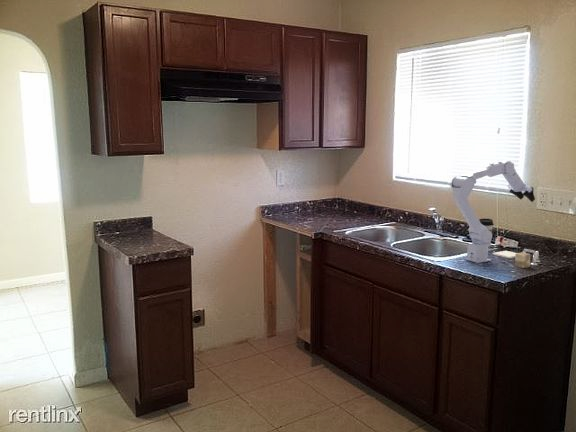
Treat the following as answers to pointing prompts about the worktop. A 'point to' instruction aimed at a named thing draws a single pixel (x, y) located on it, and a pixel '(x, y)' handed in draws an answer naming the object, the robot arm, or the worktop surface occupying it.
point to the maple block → (522, 260)
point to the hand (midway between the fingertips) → (527, 199)
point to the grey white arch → (535, 256)
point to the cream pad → (505, 254)
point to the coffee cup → (487, 225)
